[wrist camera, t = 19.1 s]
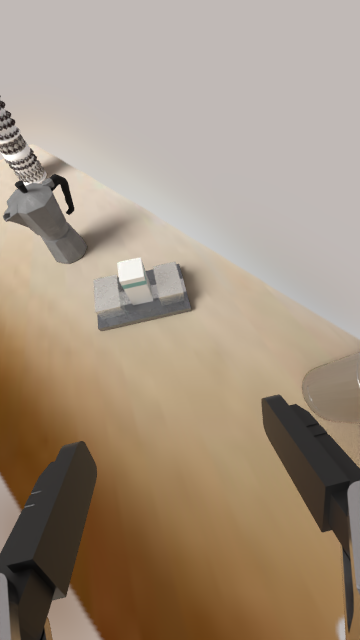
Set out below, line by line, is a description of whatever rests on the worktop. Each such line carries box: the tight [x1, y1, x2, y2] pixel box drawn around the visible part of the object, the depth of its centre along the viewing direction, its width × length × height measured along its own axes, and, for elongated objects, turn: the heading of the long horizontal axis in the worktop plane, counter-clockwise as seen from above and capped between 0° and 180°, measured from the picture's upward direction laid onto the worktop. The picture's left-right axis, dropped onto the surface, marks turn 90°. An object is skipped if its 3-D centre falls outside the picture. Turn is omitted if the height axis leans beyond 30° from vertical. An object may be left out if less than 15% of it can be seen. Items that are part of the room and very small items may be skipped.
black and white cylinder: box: [0, 101, 47, 185], centre depth 58 cm, size 9×9×25 cm
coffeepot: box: [3, 174, 87, 264], centre depth 48 cm, size 15×9×18 cm, turn 145°
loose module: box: [117, 257, 153, 305], centre depth 43 cm, size 4×4×9 cm
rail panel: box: [94, 262, 191, 331], centre depth 46 cm, size 20×12×5 cm, turn 102°
